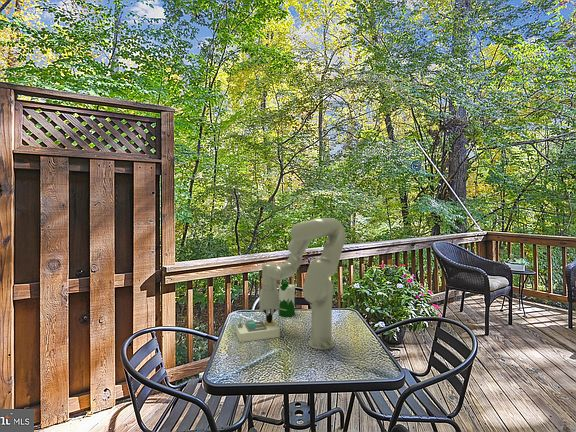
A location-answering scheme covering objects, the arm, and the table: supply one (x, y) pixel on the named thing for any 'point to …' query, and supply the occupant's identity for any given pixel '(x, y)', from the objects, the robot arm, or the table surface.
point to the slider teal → (251, 325)
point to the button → (269, 323)
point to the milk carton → (286, 299)
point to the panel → (256, 331)
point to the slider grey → (249, 321)
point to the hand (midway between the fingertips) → (269, 321)
